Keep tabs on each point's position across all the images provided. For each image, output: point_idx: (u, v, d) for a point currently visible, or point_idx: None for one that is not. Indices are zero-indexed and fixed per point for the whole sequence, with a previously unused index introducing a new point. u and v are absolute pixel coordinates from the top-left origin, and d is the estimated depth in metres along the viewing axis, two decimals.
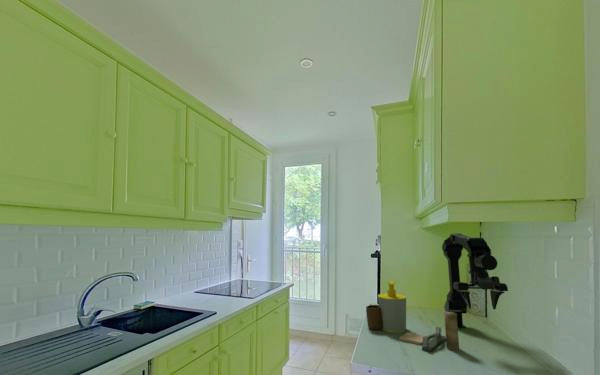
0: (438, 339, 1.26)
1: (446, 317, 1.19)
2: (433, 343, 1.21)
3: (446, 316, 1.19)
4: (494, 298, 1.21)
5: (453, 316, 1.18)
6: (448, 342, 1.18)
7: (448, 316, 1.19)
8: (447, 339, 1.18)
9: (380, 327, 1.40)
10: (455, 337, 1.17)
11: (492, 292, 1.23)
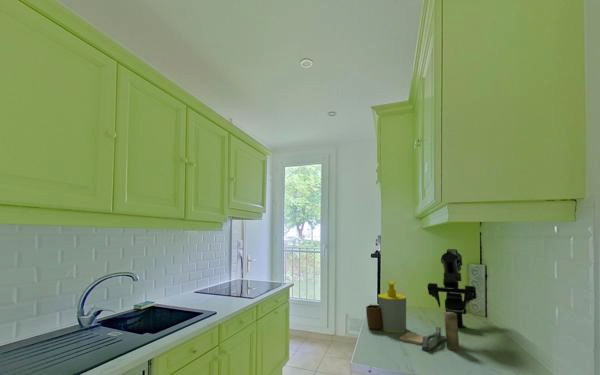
0: (438, 339, 1.26)
1: (446, 317, 1.19)
2: (433, 343, 1.21)
3: (446, 316, 1.19)
4: (464, 299, 1.27)
5: (453, 316, 1.18)
6: (448, 342, 1.18)
7: (448, 316, 1.19)
8: (447, 339, 1.18)
9: (380, 327, 1.40)
10: (455, 337, 1.17)
11: None
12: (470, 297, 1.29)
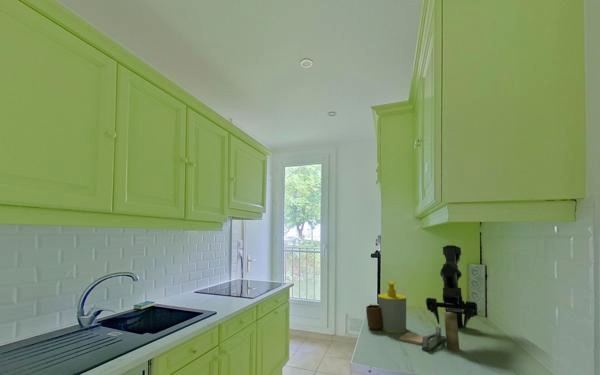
0: (438, 339, 1.26)
1: (446, 317, 1.19)
2: (433, 343, 1.21)
3: (446, 316, 1.19)
4: None
5: (453, 316, 1.18)
6: (448, 342, 1.18)
7: (448, 316, 1.19)
8: (447, 339, 1.18)
9: (380, 327, 1.40)
10: (455, 337, 1.17)
11: None
12: (470, 314, 1.22)
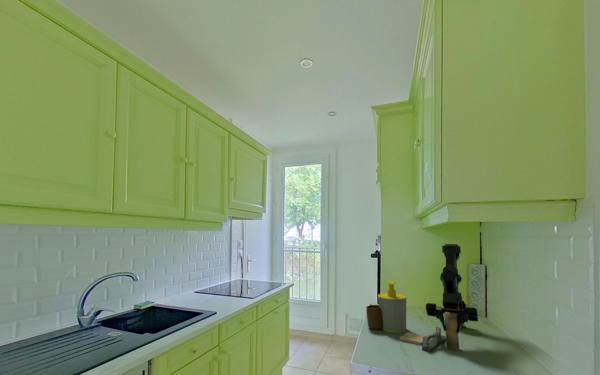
0: (438, 339, 1.26)
1: (446, 317, 1.19)
2: (433, 343, 1.21)
3: (446, 316, 1.19)
4: (458, 321, 1.20)
5: (453, 316, 1.18)
6: (448, 342, 1.18)
7: (448, 316, 1.19)
8: (447, 339, 1.18)
9: (380, 327, 1.40)
10: (455, 337, 1.17)
11: None
12: (464, 319, 1.21)
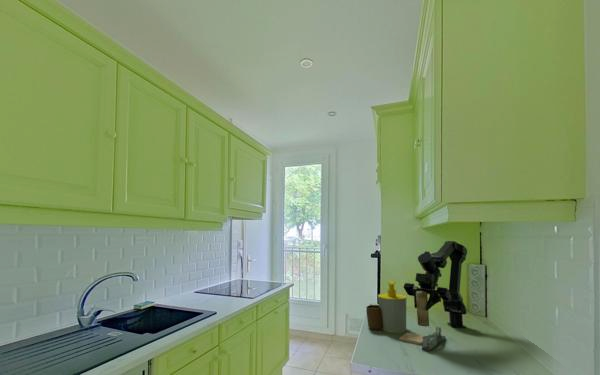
0: (438, 339, 1.26)
1: (416, 295, 1.27)
2: (433, 343, 1.21)
3: (416, 294, 1.27)
4: None
5: (422, 294, 1.25)
6: (418, 318, 1.26)
7: (417, 294, 1.27)
8: (417, 315, 1.26)
9: (380, 327, 1.40)
10: (423, 314, 1.24)
11: None
12: (437, 298, 1.26)
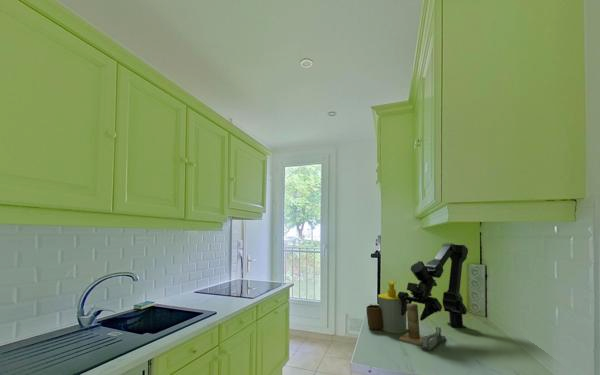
0: (438, 339, 1.26)
1: (407, 308, 1.30)
2: (433, 343, 1.21)
3: None
4: None
5: (411, 307, 1.28)
6: (408, 330, 1.29)
7: (407, 307, 1.29)
8: (408, 328, 1.29)
9: (380, 327, 1.40)
10: (413, 327, 1.27)
11: None
12: (432, 309, 1.26)
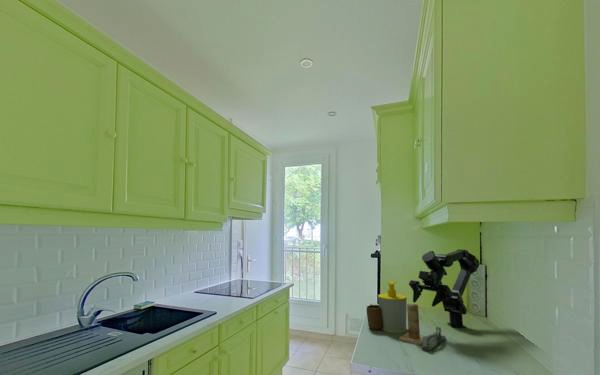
0: (438, 339, 1.26)
1: (407, 308, 1.30)
2: (433, 343, 1.21)
3: (407, 307, 1.30)
4: None
5: (412, 307, 1.28)
6: (408, 330, 1.29)
7: (408, 306, 1.30)
8: (408, 328, 1.29)
9: (381, 327, 1.40)
10: (413, 326, 1.27)
11: None
12: (444, 296, 1.32)
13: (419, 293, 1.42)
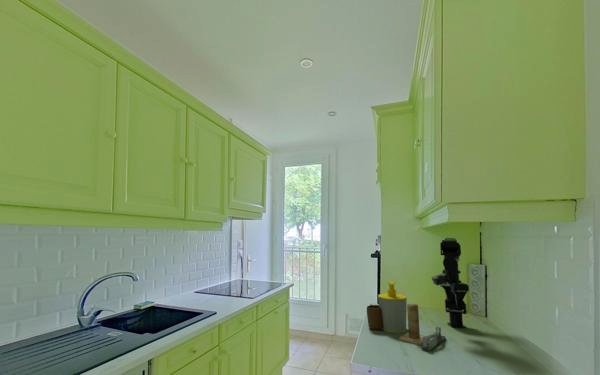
0: (438, 339, 1.26)
1: (407, 308, 1.30)
2: (433, 343, 1.21)
3: (407, 307, 1.30)
4: None
5: (412, 307, 1.28)
6: (408, 330, 1.29)
7: (408, 306, 1.30)
8: (408, 328, 1.29)
9: (381, 327, 1.40)
10: (413, 326, 1.27)
11: None
12: None
13: None
